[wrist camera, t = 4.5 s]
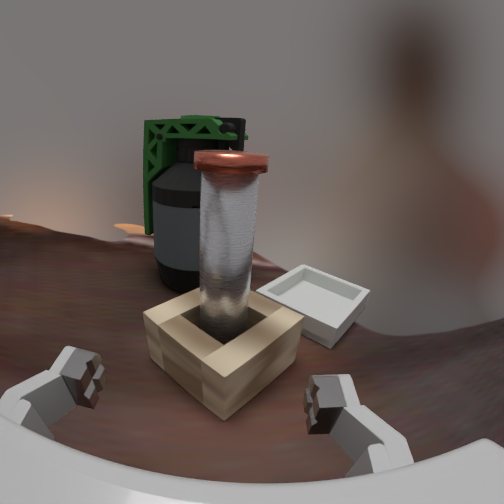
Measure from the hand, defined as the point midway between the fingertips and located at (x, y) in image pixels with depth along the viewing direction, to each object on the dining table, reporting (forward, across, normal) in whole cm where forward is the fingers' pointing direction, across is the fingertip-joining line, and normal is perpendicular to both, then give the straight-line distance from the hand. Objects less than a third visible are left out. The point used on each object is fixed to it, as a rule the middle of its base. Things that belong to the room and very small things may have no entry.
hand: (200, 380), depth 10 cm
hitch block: (+11, 0, +10) cm, 15 cm away
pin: (+11, 0, +10) cm, 15 cm away
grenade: (+27, +6, +10) cm, 29 cm away
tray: (+20, -10, +10) cm, 24 cm away
